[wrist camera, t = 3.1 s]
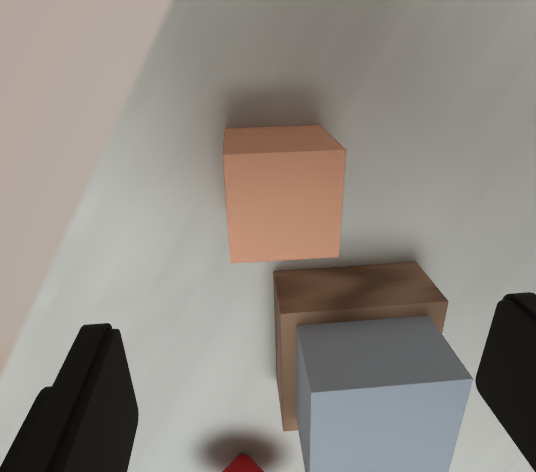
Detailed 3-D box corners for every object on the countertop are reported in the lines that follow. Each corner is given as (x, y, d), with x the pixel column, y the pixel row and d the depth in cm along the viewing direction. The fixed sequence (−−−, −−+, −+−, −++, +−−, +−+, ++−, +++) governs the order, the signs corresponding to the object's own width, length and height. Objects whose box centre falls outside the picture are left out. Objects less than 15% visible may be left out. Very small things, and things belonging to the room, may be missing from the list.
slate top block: (428, 315, 24) (472, 378, 20) (411, 408, 28) (445, 480, 23) (296, 325, 24) (311, 392, 19) (296, 419, 27) (309, 494, 23)
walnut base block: (414, 259, 28) (448, 301, 24) (398, 366, 33) (424, 418, 28) (272, 269, 28) (280, 314, 23) (276, 376, 32) (283, 431, 28)
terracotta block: (319, 124, 23) (345, 149, 18) (316, 211, 26) (338, 257, 20) (225, 128, 23) (222, 154, 18) (230, 216, 25) (230, 263, 20)
